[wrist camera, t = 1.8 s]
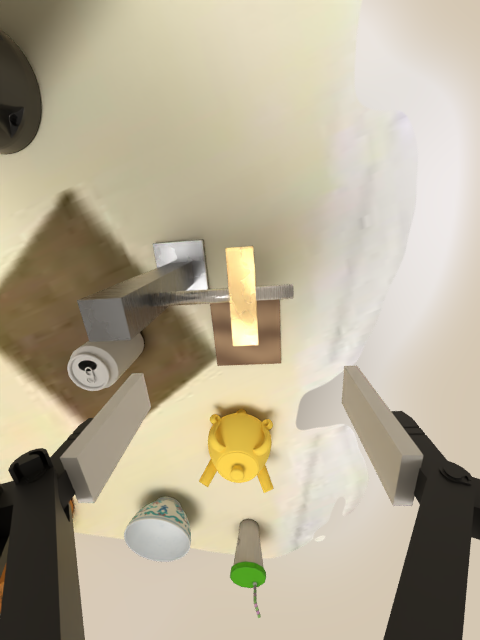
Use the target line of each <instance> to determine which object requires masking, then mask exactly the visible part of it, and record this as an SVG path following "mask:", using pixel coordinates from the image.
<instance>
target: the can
mask: <svg viewBox="0 0 480 640" xmlns="http://www.w3.org/2000/svg"><path fill="white" fill-rule="evenodd" d="M143 348H144V341H143V338H142V336H141V334H140V333H138V334H137V335H136V336H135V337H134V338H133V339H132V340H122V341H101V342H90V341H88V342H87V343H85V344H84V345H82V346H81V347H79V348H78V349H77V350H75V351H74V352H73V354H72V356H71V357H70V361H69V363H68V368H67V370H68V374H69V376H70V378H71V379H72V381H73V382H74V383H75V384H76V385H77V386H79V387H81V388H83V389H86V390H89V391H97V390H101V389H103V388H107V387H110V386H111V385H112V384H114V383H115V382H116V381H117V380H118V379H119V377H120V376H121V375H122V374H123V373H124V372H125V371H126V370H127V369H128V368H129V366H130V365H131V364H132V363H133V362H134V361H135V360H136V359H137V358H138V357H139V355H140V354H141V353H142V351H143Z"/></svg>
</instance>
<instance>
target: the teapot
mask: <svg viewBox="0 0 480 640" xmlns="http://www.w3.org/2000/svg"><path fill="white" fill-rule="evenodd" d="M210 421H211V423H212V424H213V426H212V427H211V429H210V432H209V436H208V449H209V454H210V457H211V460H210V462H209V463H208V465H207V467H206V469H205V471H204V473H203V475H202V476H201V478H200V480H199V482H201V483H202V484H203V485H205V486H207V487H208V486H209V484H210V482H211V481H212V479H213V477H214V475H215V473H216V472H217V471H218V472H219V474H220V475H221V476H222V477H223V478H225V479H227V480H229V481H231V482H236V483H242V482H247V481H249V480H251V479H253V478H254V477H255V476H256V475H257V476H258V479H259V481H260V484H261V487H262V489H263V492H264V493H265V492H268V491H270V490H272V489H274V488H273V485H272V483H271V480H270V477H269V474H268V471H267V469H266V466H265V463H266V462H267V459H268V457H269V454H270V450H271V435H270V432H269V430H270V429H271V428H272V427H273V423H272V421H271V420H269V419H265V420H263V422H261V421H260V420H259V419H257V418H256V417H254V416H251V415H249V414H247V412H246V411H245V410H243V409H240V410H238V411H237V413H233V414H229V415H226V416H224V417H222V418H220V416H219V415H216V414H214V415H212V416H211V417H210Z"/></svg>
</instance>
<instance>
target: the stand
mask: <svg viewBox="0 0 480 640" xmlns="http://www.w3.org/2000/svg"><path fill="white" fill-rule="evenodd" d="M153 248H154V254H155V259H156V264H157V268H156V269H154V270H151V271H149V272H146V273H144V274H141V275H139V276H136V277H134V278H131V279H129V280H126V281H124V282H122V283H119V284H117V285H114V286H112V287H109V288H107V289H104V290H102V291H99V292H97V293H94V294H92V295H89V296H87V297H84V298H82V299H80V300H77V302H78V305H79V309H80V312H81V315H82V318H83V322H84V325H85V328H86V331H87V335H88V338H89V341H90V342H101V341H122V340H132V339H133V338H134V337H135V336H136V335H137V334H138V333H140V332H141V331H142V330H143V329H144V328H145V327H146V326H147V325H148V324H149V323H151V322H152V321H153V320H154V319H155V318H156V317H157V316H158V315H159V314H161V313H162V312H163V311H164V310H165V309H166V308H167V307H168V306H172V305H189V304H206V303H223V302H230V300H229V288H223V289H209V284H208V276H207V267H206V259H205V250H204V242H203V240H192V241H179V242H167V243H155V244H153ZM255 290H256V301H258V300H275V299H292V298H293V294H294V293H293V284H287V285H271V286H255Z"/></svg>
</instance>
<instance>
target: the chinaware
mask: <svg viewBox="0 0 480 640" xmlns="http://www.w3.org/2000/svg"><path fill="white" fill-rule="evenodd" d="M124 539H125V542H126V544H127V545H128V547H129V548H130V549H131V550H132V551H133V552H135V553H136V554H138V555H140V556H141V557H144V558H146V559H149V560H153V561H160V562H169V561H175V560H178V559H180V558H182V557H184V556H185V555H186V554H187V553H188V551H189V549H190V544H191V532H190V525H189V521H188V518H187V516H186V514H185V512H184V511H183V509H182V508H181V505H180V503H179V502H178V501H177V500H176V499H174V498H171V497H161V498H159V499H157V500H156V501H155V502H152V503H150V504H148V505H146V506H145V507H143V508H142V509H141V510H140V511H139V512H138V513H137V514H136V515H135V516H134V517H133V519H132V520H131V521H130V523H129V524H128V526H127V528H126V530H125V532H124Z"/></svg>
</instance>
